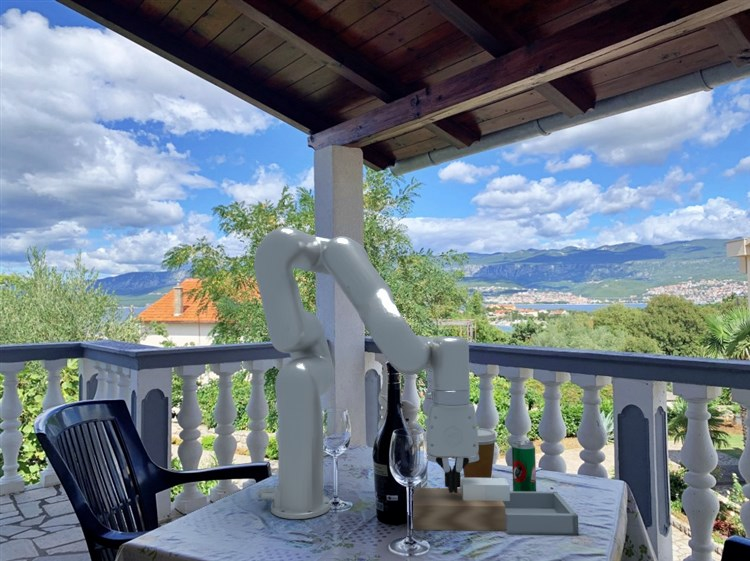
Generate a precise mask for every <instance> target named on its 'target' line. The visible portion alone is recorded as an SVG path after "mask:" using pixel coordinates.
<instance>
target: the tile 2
mask: <svg viewBox="0 0 750 561" xmlns="http://www.w3.org/2000/svg"><path fill="white" fill-rule="evenodd" d="M483 480H484V482H485V484H486V501H510V491H511V490H510V484H509V482H508V481H507V479H506V478H505V477H491V478H483Z"/></svg>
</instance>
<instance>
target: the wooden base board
mask: <svg viewBox="0 0 750 561" xmlns="http://www.w3.org/2000/svg"><path fill="white" fill-rule="evenodd" d="M417 488H418V489H416V490H415V491H414V495H413V531H415V530H416V531H417V530H419V531H420V530H423V531H427V530H428V531H429V530H430V531H480V532H481V531H483V532H484V531H492V532H493V531H495V532H496V531H497V532H500V531H501V532H506V516H505V505H504V503H503V501H463V498H462V496H461V493H460V487H457V493H455V492H454V491H453V492H452V493H449V490H448V487H417Z"/></svg>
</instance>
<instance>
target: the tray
mask: <svg viewBox="0 0 750 561" xmlns="http://www.w3.org/2000/svg"><path fill="white" fill-rule="evenodd" d="M503 503H504V505H505V516H506V531H505V533H506V534H507V535H531V536H532V535H538V536H539V535H540V536H541V535H542V536H543V535H545V536H546V535H547V536H549V535H551V536H552V535H553V536H579V533H580V532H579V515H578V514H577V513H576V512H575V510H574V509H573V508H572V507H571V506H570V505H569V503H568V502H567V501H566V500H565V499H564V498H563V497H562V496H561V494H560V493H558V491H536V492H529V491H513V490H510V501H503Z"/></svg>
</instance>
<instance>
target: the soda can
mask: <svg viewBox="0 0 750 561" xmlns="http://www.w3.org/2000/svg"><path fill="white" fill-rule="evenodd" d="M511 459H512V464H511V466H512V470H511V471H512V491H529V492H537V473H536V472H537V469H536V468H537V467H536V466H537V465H536V447H535V445H534V442H533V441H532V440H528V439H515V440H513V444H512V445H511Z"/></svg>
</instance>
